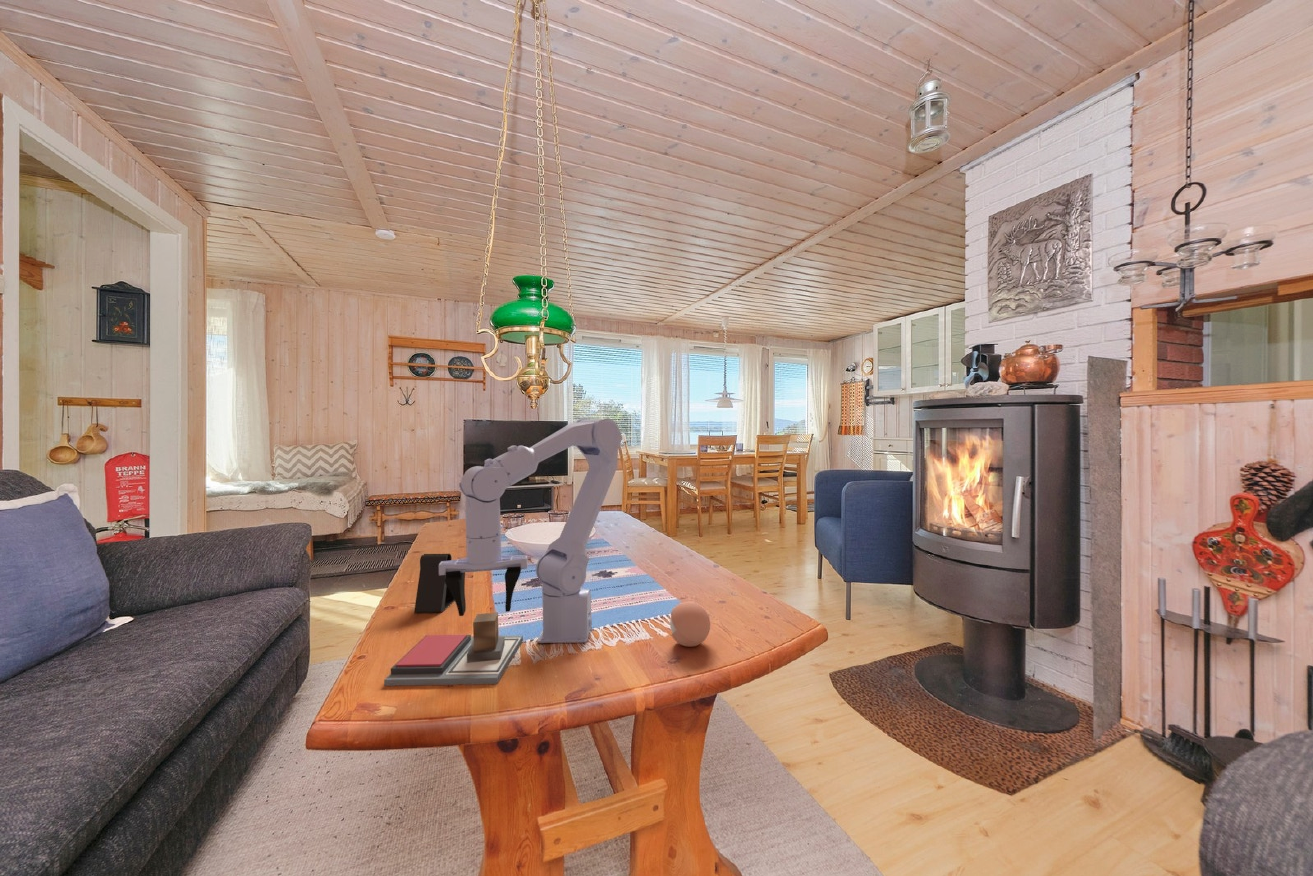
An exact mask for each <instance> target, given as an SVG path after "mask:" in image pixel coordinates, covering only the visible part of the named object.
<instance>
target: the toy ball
mask: <svg viewBox="0 0 1313 876" xmlns="http://www.w3.org/2000/svg"><path fill="white" fill-rule="evenodd" d="M669 621H670V622H669V626H670V627H669V628H670V631H671V635H670V636H671V637H672V638H673V640H674V641H675V642H676V643H678V645H681V646H683V647H689V648H690V647H691V648H692V647H697V646H698V645H700V644H702V643H703V642H705V641H706V639H707V638H708V636H709V634H710V630H711V620H710V616H709V613H708V612H707V611H706V609H705V608H704V607H703V606H702V605H701V604H699V603H697V602H695V601H691V600H689V601H682V602H680V603H678V604H676V605H675V606H674V607H673V608H672V609H671V612H670V620H669Z"/></svg>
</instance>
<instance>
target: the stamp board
mask: <svg viewBox="0 0 1313 876" xmlns="http://www.w3.org/2000/svg"><path fill="white" fill-rule="evenodd" d="M498 637H505V645H504V649H503V653H502V657H501V659H500V660H491V661H481V662H471V663H467V653H468V650H469V648H470V646H471V643H472V641H473V640H474V638H473V636H472V635H471V634H427V635H425V636H424V637H423V638H421V639H420V640H419V642H417V643H416V644H415V645H414V646H413V647H412V648H411V649H410V650H409V651H408V652H407V653H406V654H404V656H402V657H401V659H399V660H398V661H397V662H396V663H395V664H393V666H392V667H391V668H390V673H389V674H388V676H386V677H385V678H384V680H383V682H384V683H383V684H384V687H385V686H386V687H387V686H388V687H390V686H393V687H394V686H395V685H398V687H399V685H401V686H450V685H451V686H452V685H453V686H454V685H455V686H456V685H458V684H462V685H463V684H464V685H497V684H498V683H499V681H500V680H501V678H502V676H503V675H504V674H505V671H506V669H507V668H508V667H509V665H510V663H511V662H512V659H514V656H515V655H516V653H517V652H518V650H519V648H520V647H521V645H522V643H523V642H524V635H498ZM522 641H523V642H522ZM519 646H520V647H519ZM432 684H433V685H432ZM462 685H461V686H462Z"/></svg>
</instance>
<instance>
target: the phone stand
mask: <svg viewBox="0 0 1313 876" xmlns="http://www.w3.org/2000/svg"><path fill="white" fill-rule="evenodd" d="M450 560H453V558H452V554H451V553H424V554H422V555H421V556H420V559H419V569H420V570H419V574H418V583H417V588H416V596H415V604H414V611H413V613H414V614H439V613H440V614H441V613H443V612H444V611H445V610H447V609H448V608H449V607H450V606H451V605H452V604H453V603H455V600H454V597H453V595H452V593H451V592H450V590H449V588H448V587H447V586H446V584H445V578H446V575H440V576H439V564H440V563H441V561H450ZM450 604H451V605H450ZM449 605H450V606H449ZM448 606H449V607H448Z"/></svg>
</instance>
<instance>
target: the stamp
mask: <svg viewBox="0 0 1313 876" xmlns="http://www.w3.org/2000/svg"><path fill="white" fill-rule="evenodd" d="M472 626H473V628H472V629H473V633H472V634H473V638H474V640H473V641H472V643H471V646H470V648H469V650H468V653H467V663H471V662H481V661H491V660H500V659H501V657H502V653H503V649H504V645H505V637H498V636H499V612H489V613H477V614H476V615H475V618H474V620H473V622H472Z"/></svg>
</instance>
